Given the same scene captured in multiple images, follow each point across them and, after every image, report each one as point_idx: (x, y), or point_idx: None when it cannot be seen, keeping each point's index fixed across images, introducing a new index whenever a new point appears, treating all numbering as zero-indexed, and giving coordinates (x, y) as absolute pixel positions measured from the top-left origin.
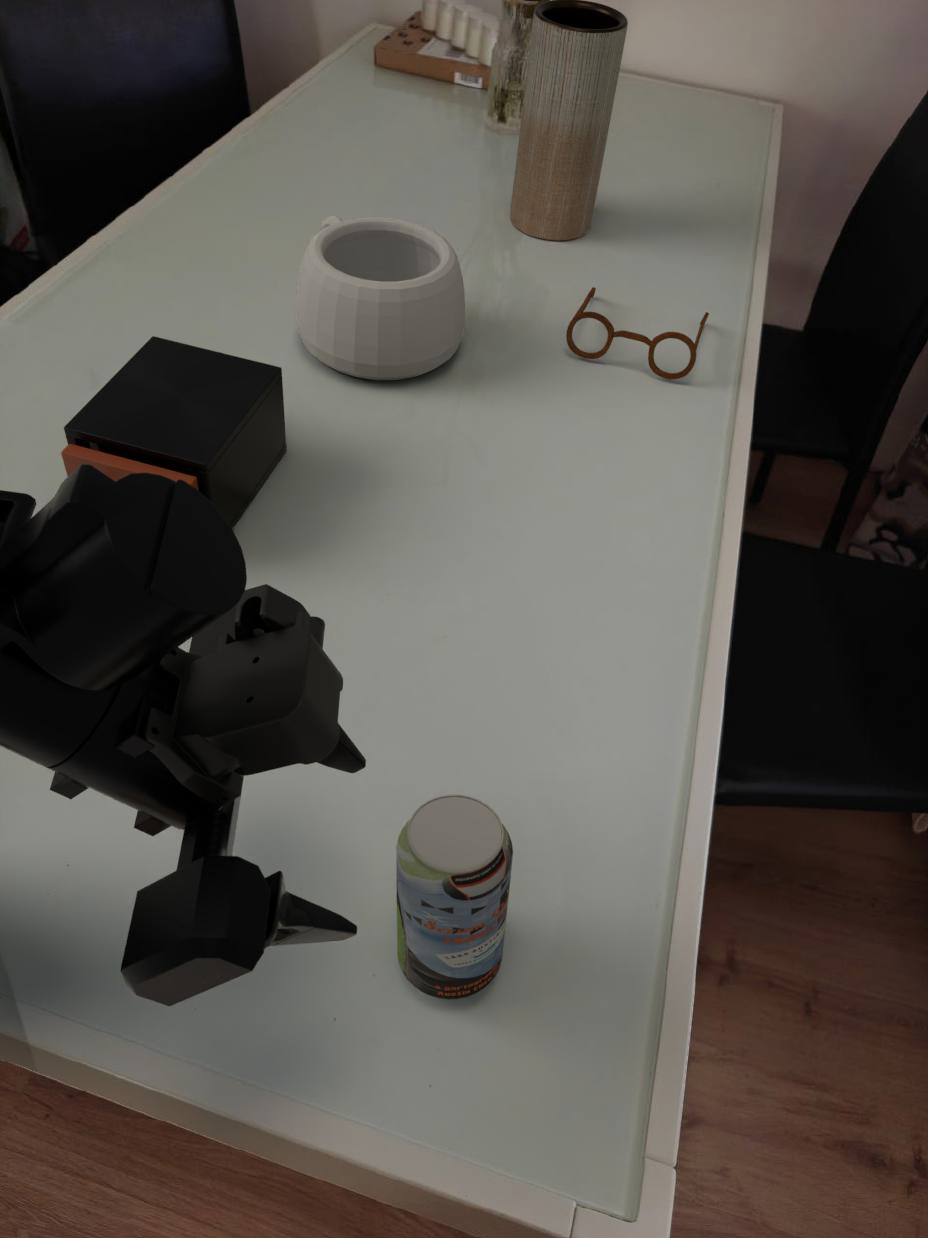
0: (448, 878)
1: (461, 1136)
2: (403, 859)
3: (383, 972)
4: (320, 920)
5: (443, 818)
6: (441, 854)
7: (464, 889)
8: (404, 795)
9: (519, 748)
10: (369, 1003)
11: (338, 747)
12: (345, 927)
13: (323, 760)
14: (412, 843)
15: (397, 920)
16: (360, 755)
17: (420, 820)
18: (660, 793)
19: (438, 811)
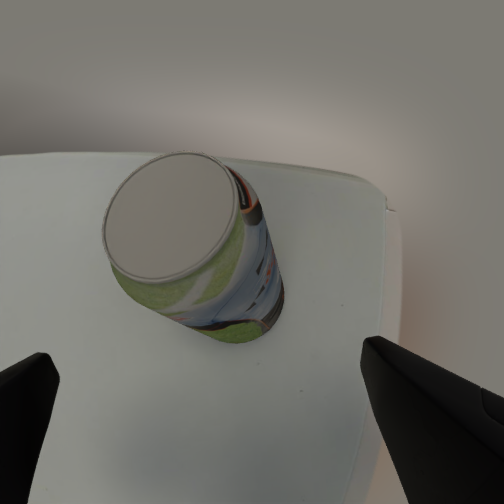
0: (243, 212)
1: (370, 279)
2: (202, 292)
3: (254, 355)
4: (454, 383)
5: (139, 230)
6: (204, 222)
7: (253, 198)
8: (88, 345)
9: (59, 252)
10: (284, 364)
11: (10, 394)
12: (396, 349)
13: (39, 424)
14: (183, 269)
15: (233, 333)
16: (29, 358)
17: (139, 264)
18: (109, 163)
19: (126, 240)
